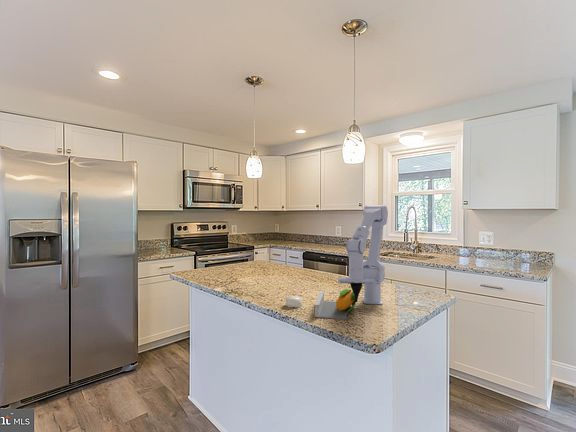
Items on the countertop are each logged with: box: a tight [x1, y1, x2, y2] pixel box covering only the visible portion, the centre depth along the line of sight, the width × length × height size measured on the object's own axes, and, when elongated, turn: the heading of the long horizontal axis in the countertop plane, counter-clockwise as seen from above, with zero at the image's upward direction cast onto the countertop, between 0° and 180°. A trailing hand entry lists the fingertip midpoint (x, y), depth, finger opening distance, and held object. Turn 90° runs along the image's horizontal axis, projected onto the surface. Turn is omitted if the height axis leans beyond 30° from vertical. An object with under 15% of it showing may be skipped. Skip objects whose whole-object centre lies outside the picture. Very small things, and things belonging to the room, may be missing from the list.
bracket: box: [314, 290, 348, 321], centre depth 126 cm, size 22×12×5 cm, turn 168°
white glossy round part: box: [285, 295, 303, 308], centre depth 132 cm, size 7×7×4 cm
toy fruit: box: [335, 288, 357, 313], centre depth 125 cm, size 7×8×20 cm
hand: (356, 301), depth 124 cm, fingers closed
